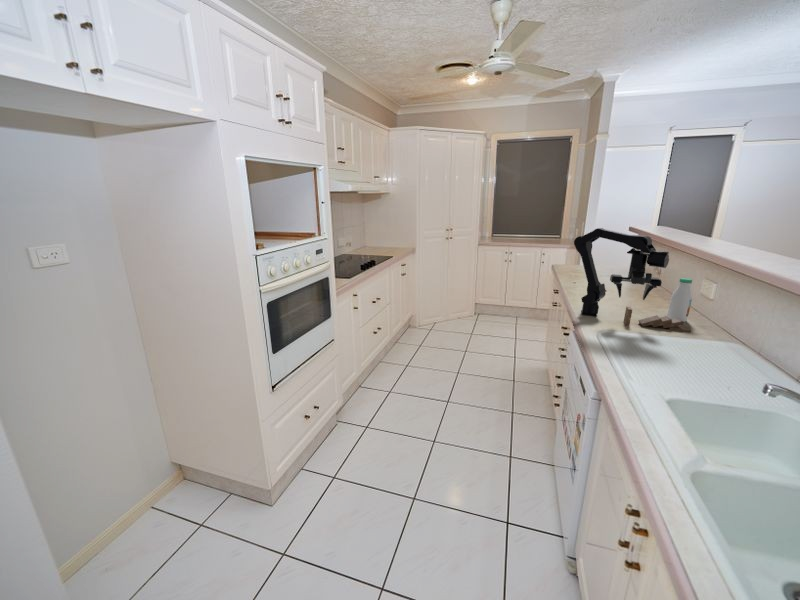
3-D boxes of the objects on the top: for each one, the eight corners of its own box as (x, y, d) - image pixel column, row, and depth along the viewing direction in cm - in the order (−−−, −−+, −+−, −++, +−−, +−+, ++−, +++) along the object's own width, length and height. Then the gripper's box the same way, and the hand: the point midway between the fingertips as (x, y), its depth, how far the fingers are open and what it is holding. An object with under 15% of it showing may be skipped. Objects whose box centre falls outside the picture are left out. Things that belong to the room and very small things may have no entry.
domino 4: (663, 324, 156) (682, 321, 154) (657, 321, 160) (676, 318, 158) (663, 328, 156) (683, 324, 154) (658, 325, 161) (677, 321, 159)
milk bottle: (681, 323, 163) (691, 281, 158) (663, 318, 170) (672, 277, 164) (690, 320, 167) (700, 279, 161) (671, 316, 173) (681, 276, 168)
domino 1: (625, 324, 161) (628, 309, 159) (623, 321, 165) (626, 306, 163) (629, 325, 160) (632, 309, 158) (627, 322, 164) (630, 306, 162)
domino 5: (670, 327, 155) (691, 330, 152) (666, 324, 159) (687, 326, 156) (669, 331, 155) (690, 333, 152) (666, 327, 159) (686, 329, 157)
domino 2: (642, 323, 158) (661, 318, 155) (638, 320, 162) (656, 315, 160) (643, 326, 158) (662, 321, 155) (639, 323, 163) (657, 318, 160)
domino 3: (652, 324, 157) (671, 319, 154) (647, 321, 161) (666, 315, 159) (653, 327, 157) (672, 322, 155) (648, 324, 162) (667, 319, 159)
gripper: (616, 265, 152) (610, 300, 156) (668, 269, 145) (660, 305, 149) (612, 262, 162) (607, 294, 166) (661, 265, 155) (654, 299, 159)
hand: (631, 298), depth 160 cm, fingers open, 9 cm apart
